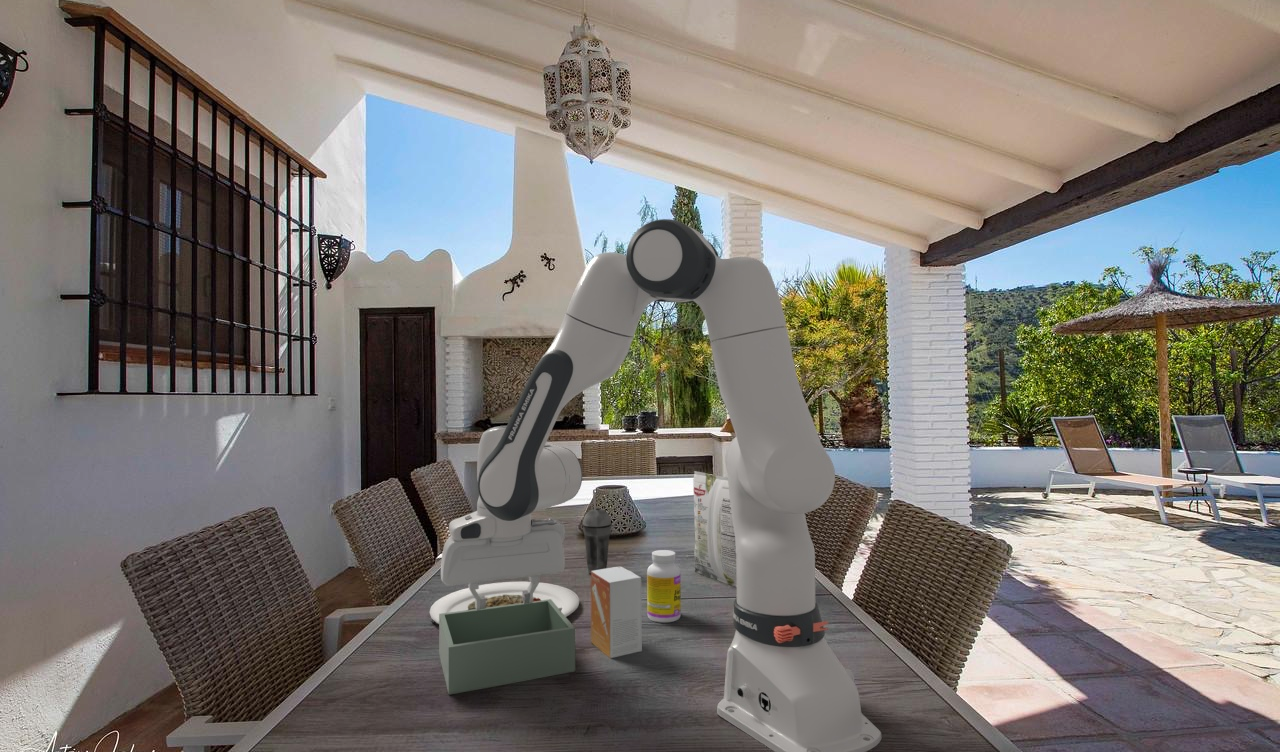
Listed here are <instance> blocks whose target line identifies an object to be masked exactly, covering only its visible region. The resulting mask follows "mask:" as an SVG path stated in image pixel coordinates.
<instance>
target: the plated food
mask: <svg viewBox="0 0 1280 752" xmlns="http://www.w3.org/2000/svg"><path fill="white" fill-rule="evenodd" d="M530 583H531V581H504V582H503V581H501V582H494V583H485V584H479V589H475V590H476V591H477V593H478V595H479V596H485V598H486V603H485V605H486V608H488V607H495V606H503V605H510V604H518V603H523V602H522V597H523V595H522V591H525V590H527V588H528V587H529V585H530ZM548 599H551V600H552V601H553V602H554V604H555V605H556V606H557V607H558V608H559V609H561V610H560V611H561V612H562V613H563V614H564V616H565V617H566V618H567V617H568V616H570V615H572V613H574V612H575V611H576V610H577V609H578V607H579V604H580V598H579V596H578V595H577V594H576V593H575V592H574V590H571V589H569V588H567V587H565V586H561V585H558V584H552V583H547V582H540V581H539V584H538V586H537V587H536V589H535V591H534V593H533V601H541V600H548ZM473 609H476V607H475V597H474V596H473V594H472V593H471V591H470V589H469V587H466V588H463V589H460V590H456V591H453V592H451V593H450V592H449V593H448V594H447V595H444V596H442V597H440V598H439V599H437V600H436V601H435V602H433V604H432V605H431V606H430V609H429V616H430V618H431V619H432V620H433V621H434V622H435V624H438V625H439V614H442V613H450V612H457V611H465V610H473Z"/></svg>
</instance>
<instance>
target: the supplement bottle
mask: <svg viewBox="0 0 1280 752" xmlns="http://www.w3.org/2000/svg"><path fill="white" fill-rule="evenodd" d="M651 560H652V563H651V564H650V565H649V566H648V568H647V570H646V571H647V572H646V583H647V584H646V587H647V588H646V591H647V593H646V596H647V598H646V600H647V603H646V605H647V606H646V613H647V618H648V619H649V620H650V621H652V622H656V623H662V624H663V623H665V624H666V623H672V622H676V621H678V620H680V618H681V616H682V615H681V614H682V613H681V611H682V609H681V608H682V603H681V602H682V601H681V599H682V598H681V590H682V589H681V588H682V587H681V568H680V567H679V566H678V564H676V563H675V561H676V552H675V551H673V550H670V549H669V550H668V549H658V550H654V551H652V552H651Z"/></svg>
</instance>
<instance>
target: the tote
mask: <svg viewBox="0 0 1280 752" xmlns="http://www.w3.org/2000/svg"><path fill="white" fill-rule="evenodd" d="M561 611H562V610H560V608H558V607H557V606H556V605H555V604H554V602H553V601H552V600H551V599H548V600H541V601H533V603H527V604H524V603H518V604H510V605H503V606H495V607H488V608H486V609H480V610H476V609H473V610H465V611H457V612H450V613H442V614H439V624H438V625H439V626H438V631H439V632H438V633H439V634H438V649H439V650H438V653H439V654H438V656H439V660H440V664H441V668H442V673H443V676H444V681H445V684H446V689H447V693H448V695H449V696H450V695H454V694H461V693H465V692H466V693H467V692H470V691H471V692H472V691H477V690H481V689H483V690H484V689H488V688H493V687H499V686H504V685H509V684H514V683H515V684H516V683H519V682H525V681H530V680H535V679H536V680H537V679H539V678H546V677H552V676H557V675H562V674H567V673H572V672H576V627H574V626H573V624H572V623H571V621H570V620H569V619H568V618H567V616H566V617H565V616H564V614H563V613H562V612H561Z"/></svg>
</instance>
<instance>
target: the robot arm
mask: <svg viewBox="0 0 1280 752" xmlns="http://www.w3.org/2000/svg"><path fill="white" fill-rule="evenodd" d="M778 293H779V292H778V291H777V287H776V284H775V281H774V279H773V277H772V275H771V273H770V270H769V268H768V267H767V265H766V264H765V263H764V262H762V261H761V260H759V259H757V258H754V257H748V256H736V257H730V258H722V257H720V256H719V254H718V251H717V250H716V248H715V247H714V245H713V244H712V243H711V242H710V241H709V240H707V239H706V237H705V236H704V235H703V234H702V233H701V232H699V231H698V230H696V229H695V228H693V227H690V226H689V225H686V224H685V223H683V222H681V221H679V220H675V219H670V218H666V219H665V218H663V219H654V220H653V221H649V222H648V223H645V224H643V225H642V226H641V227H640V228H638V229H637V230H636V231H635V232H634V233H633V235H632V237H631V238H630V240H629V242H628V245H627V249H626V254H623V253H619V252H612V251H611V252H603V253H599V254H597V255H595V256H594V257H592V258H591V260H590V261H589V262H588V264H587V265H586V267H585V269H584V271H583V272H582V274H581V276H580V278H579V279H578V282H577V284H576V286H575V289H574V291H573V292H572V296H571V298H570V300H569V303H568V306H567V309H566V311H565V314H564V317H563V319H562V322H561V324H560V326H559V328H558V331H557V333H556V335H555V337H554V339H553V341H552V343H551V345H550V346H549V347H548V349H547V351H545V352H544V354H543V355H542V357H541V358H540V359H539V361H538V362H537V363H536V364H535V366H534V368H533V370H532V371H531V374H530V375H529V377H528V379H527V382H526V384H525V385H524V388H523V390H522V392H521V394H520V397H519V399H518V401H517V403H516V405H515V407H514V410H513V412H512V414H511V415H510V418H509V421H508V423H507V425H500V426H493V427H491V428H488V429H487V430H485V431H484V432H483V433H482V434H481V437H480V439H479V443H478V449H477V459H476V460H477V461H476V462H477V463H476V468H477V469H476V474H477V475H476V479H477V491H478V498H477V502H476V511H473V512H470V513H468V514H465V515H463V516H461V517H458V518H455V519H453V520H451V521H450V522H449V525H448V532H449V536H448V538H447V539H446V541H445V543H444V545H443V548H442V549H443V550H442V554H441V561H440V580H441V582H442V583H443V584H444V585H445V586H447V587H452V586H463V585H467V586H468V587H467V588H469V589H470V591H471V593H472V594H473V596H474V597H475V607H476V610H480V609H486V605H485V603H486V598H485V596H479V595H478V593H477V591H476V590H475V589H479V585H480V584H479V583H487V582H488V583H489V582H496V581H504V580H514V579H523V578H528V580H529V582H531V583H530V585H529V587H528V588H527V590H525V591H522V595H523V597H522V602H523V603H524V604H527V603H533V593H534V591H535V589H536V587H537V586H538V584H539V582H540V577H541V576H549V575H556V574H561V573H562V572H563V571H564V569H565V567H566V559H565V558H566V557H565V550H564V548H565V547H564V544H563V543H564V542H563V541H565V537H566V536H565V535H566V528H565V524H564V523H563V522H562V521H561V520H558V519H557V518H556V517H549V518H544V519H543V518H534V519H532V513H535V512H540V511H542V510H546V509H549V508H552V507H555V506H558V505H561V504H562V505H563V504H565V503H566V502H568V501H570V500H573V498H575V497H576V496H577V495H578V493H579V491H580V489H581V486H582V482H583V469H582V466H581V462H580V461H579V458H578V457H577V456H576V453H574V452H573V451H572V450H570V449H568V448H566V447H564V446H559V445H557V444H553V443H551V442H548V440H549V437H550V435H551V433H552V430H553V428H554V426H555V424H556V421H557V419H558V418H559V415H560V414H561V412H562V410H563V409H564V407H565V406H566V405H567V404H568V403H569V402H570V401H572V400H573V398H574V397H576V396H578V395H579V394H581V393H582V392H584V391H585V390H588V389H589V388H591V387H593V386H595V385H597V384H600V383H603V382H605V381H606V380H608V379H609V378H612V377H613V376H615V374H616V373H617V372H618V371H619V369H620V368H621V366H622V364H623V363H624V361H625V360H626V357H627V356H628V353H629V350H630V348H631V345H632V342H633V341H634V340H633V339H634V336H635V334H636V330H637V328H638V325H639V322H640V319H641V317H642V315H643V313H644V312H645V309H646V308H647V307H648V306H649V305H650V304H652V303H654V302H655V301H656V302H659V303H675V304H676V303H678V304H689V303H696V304H697V305H698V307H699V308H700V309H701V311H702V313H703V316H704V318H705V319H704V320H705V323H706V328H707V333H708V337H709V339H708V340H709V341H710V343H709V344H710V349H711V354H712V358H713V363H714V364H713V365H714V368H715V373H716V374H715V375H716V379H717V385H718V390H719V393H720V398H721V400H722V401H723V403H724V406H725V408H726V411H727V414H728V416H729V419H730V421H731V422H730V423H731V424H732V428H733V431H734V434H735V437H733V438H732V440H731V441H730V443H728V446H727V448H726V452H725V459H724V460H725V468H726V473H727V477H728V485H729V495H730V505H731V513H732V520H733V527H734V533H735V543H736V586H737V587H736V598H734V600H733V607H732V618H733V627H734V629H735V633H734V636H733V639H732V642H731V644H730V646H729V648H728V649H727V652H726V654H727V655H726V661H725V662H726V664H725V674H724V675H725V677H724V679H725V680H724V688H723V689H724V690H723V691H724V692H723V698H722V699H721V700H720V701H719V702H718V704H716V705H717V706H716V714H717V715H718V716H719V717H720V718H722V719H723V720H725V721H727V722H728V723H730V724H732V725H733V726H734V727H736V728H738V729H739V730H741V731H742V732H743V733H745V734H747V735H748V736H750V737H752V738H753V739H755V740H756V741H757V742H760V744H763V745H764V746H766V747H767V748H769V749H770V750H772V751H773V752H868V751H869V750H872V749H873V748H875V747H877V745H878V744H879V743H880V742H881V740H882V739H883V738H882V737H883V735H882V732H881V730H879V728H877V727H876V725H874V723H872V721H870V720H869V719H868V718H867V717H866V716H865V715H864V714H863V713H862V708H861V699H860V694H859V689H858V687H857V685H856V683H855V676H854V673H853V670H851V669H849V668H845V667H844V665H843V664H842V663H841V661H840V660H839V658H838V657H837V656H836V655H837V654H835V652H834V651H833V650H832V648H831V646H830V645H829V644H828V641H827V640H826V638H825V635H826V632H825V631H827V630H829V628H828V627H825V626H826V625H828V624H829V621H828V620H827V621H823V620H822V614H821V613H820V608H819V605H818V604H817V602H816V552H815V547H814V543H813V540H812V538H811V534H810V530H809V528H808V524H807V520H806V519H807V518H806V514H808V513H811V512H812V511H815V510H817V509H819V508H821V506H823V505H824V504H825V503H826V502H827V500H828V499H829V498H830V496H831V494H832V493H833V490H834V486H835V483H836V473H835V466H834V463H833V461H832V458H831V457H830V455H829V454H828V452H827V451H826V450H825V447H824V446H823V445H822V441H821V439H820V437H819V434H818V431H817V427H816V425H815V423H814V420H813V417H812V415H811V413H810V412H811V411H810V410H809V408H808V404H807V402H806V400H805V398H804V395H803V393H802V388H801V386H800V383H799V380H798V375H797V372H796V370H797V369H796V367H795V365H796V364H795V361H794V356H793V351H792V346H791V341H790V337H789V331H788V327H787V321H786V317H785V314H784V313H785V312H784V310H783V305H782V302H781V298H780V296H779V294H778Z"/></svg>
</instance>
